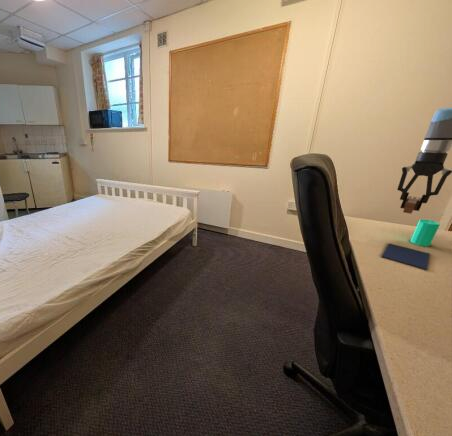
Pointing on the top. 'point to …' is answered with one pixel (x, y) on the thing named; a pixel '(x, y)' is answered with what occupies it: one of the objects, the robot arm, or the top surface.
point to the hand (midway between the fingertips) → (409, 208)
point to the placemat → (406, 256)
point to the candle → (424, 232)
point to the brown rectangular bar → (411, 204)
